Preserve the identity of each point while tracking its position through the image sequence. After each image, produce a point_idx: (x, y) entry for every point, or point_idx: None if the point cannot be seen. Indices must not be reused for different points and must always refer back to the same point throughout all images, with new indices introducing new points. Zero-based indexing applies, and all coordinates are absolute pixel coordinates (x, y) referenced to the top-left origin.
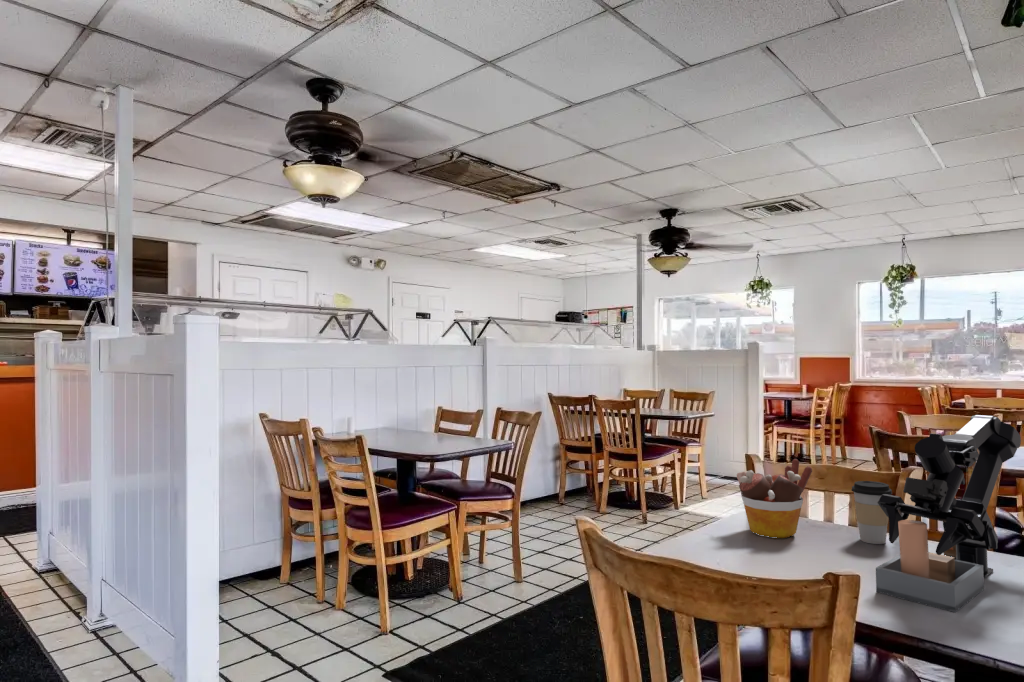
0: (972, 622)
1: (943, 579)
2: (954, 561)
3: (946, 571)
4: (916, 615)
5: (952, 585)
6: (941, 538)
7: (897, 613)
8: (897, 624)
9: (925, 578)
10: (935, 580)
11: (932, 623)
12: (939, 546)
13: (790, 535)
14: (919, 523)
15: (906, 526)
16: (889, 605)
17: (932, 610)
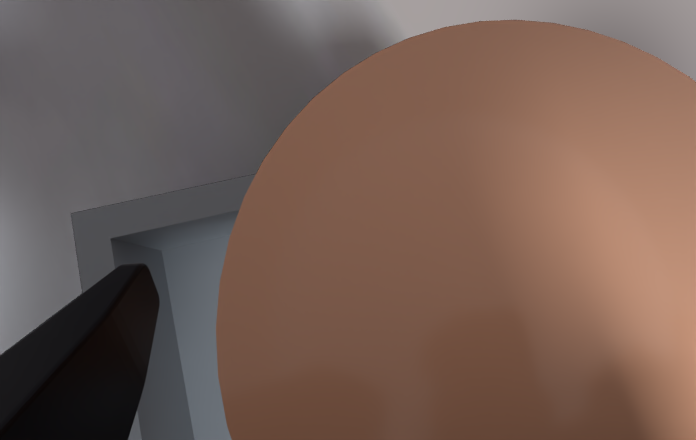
0: (48, 191)
1: None
2: None
3: None
4: (215, 65)
5: (83, 214)
6: (20, 393)
7: (267, 22)
8: None
9: (242, 193)
10: (190, 214)
11: (137, 43)
12: (84, 300)
13: None
14: (425, 424)
15: (475, 43)
16: (335, 71)
17: (210, 173)
